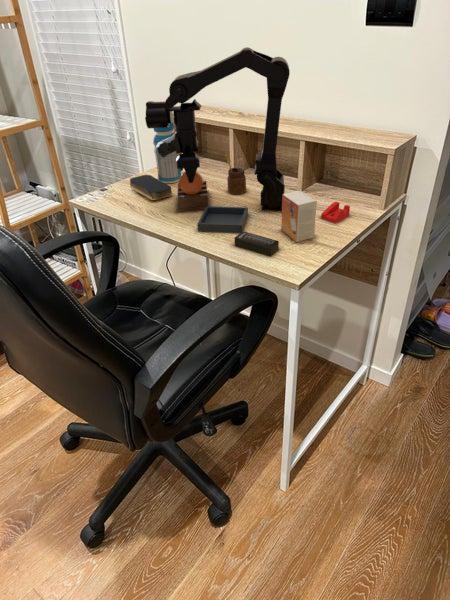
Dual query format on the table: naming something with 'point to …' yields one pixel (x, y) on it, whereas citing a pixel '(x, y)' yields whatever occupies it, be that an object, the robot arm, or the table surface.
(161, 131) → the beverage bottle
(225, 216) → the tray
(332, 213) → the bracket
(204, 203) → the rack
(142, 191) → the black sponge
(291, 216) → the small box
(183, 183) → the terracotta disc
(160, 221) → the table surface
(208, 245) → the table surface
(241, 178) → the utensil holder
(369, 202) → the table surface
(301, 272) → the table surface
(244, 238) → the multiport hub
